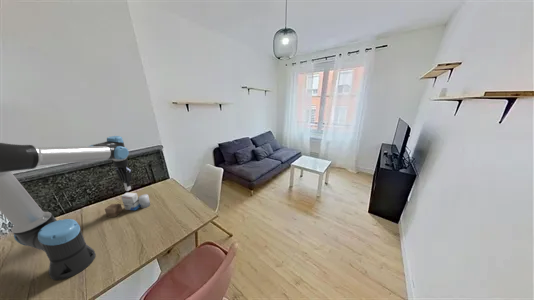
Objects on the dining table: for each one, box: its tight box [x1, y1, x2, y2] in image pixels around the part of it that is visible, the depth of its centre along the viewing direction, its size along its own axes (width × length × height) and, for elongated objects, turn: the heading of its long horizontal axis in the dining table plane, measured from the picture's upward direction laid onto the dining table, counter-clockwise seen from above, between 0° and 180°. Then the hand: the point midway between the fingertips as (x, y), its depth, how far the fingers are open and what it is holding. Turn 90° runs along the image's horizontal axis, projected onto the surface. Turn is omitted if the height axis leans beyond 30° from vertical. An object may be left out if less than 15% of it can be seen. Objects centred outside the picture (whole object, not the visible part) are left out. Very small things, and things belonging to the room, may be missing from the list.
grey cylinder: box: [138, 193, 151, 209], centre depth 127 cm, size 6×6×8 cm
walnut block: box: [104, 203, 123, 218], centre depth 118 cm, size 6×6×6 cm
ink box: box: [120, 192, 141, 211], centre depth 123 cm, size 9×5×12 cm, turn 84°
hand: (128, 189), depth 121 cm, fingers closed
